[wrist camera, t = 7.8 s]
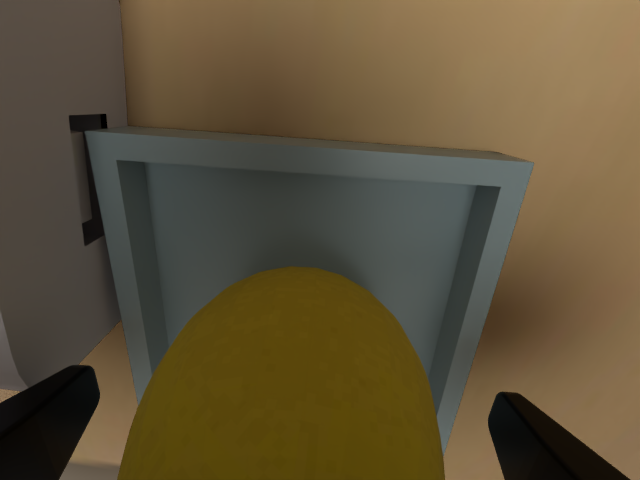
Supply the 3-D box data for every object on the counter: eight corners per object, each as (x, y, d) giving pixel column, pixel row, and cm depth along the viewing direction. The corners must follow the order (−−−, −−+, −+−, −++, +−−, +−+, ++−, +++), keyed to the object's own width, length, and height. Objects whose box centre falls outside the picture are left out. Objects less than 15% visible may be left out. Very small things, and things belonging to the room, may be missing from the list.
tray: (496, 151, 9) (534, 162, 8) (427, 415, 13) (442, 460, 11) (128, 126, 9) (84, 130, 7) (168, 399, 13) (145, 443, 11)
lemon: (417, 248, 10) (725, 688, 2) (365, 392, 12) (432, 897, 4) (232, 204, 9) (-160, 537, 2) (208, 358, 11) (-36, 838, 4)
